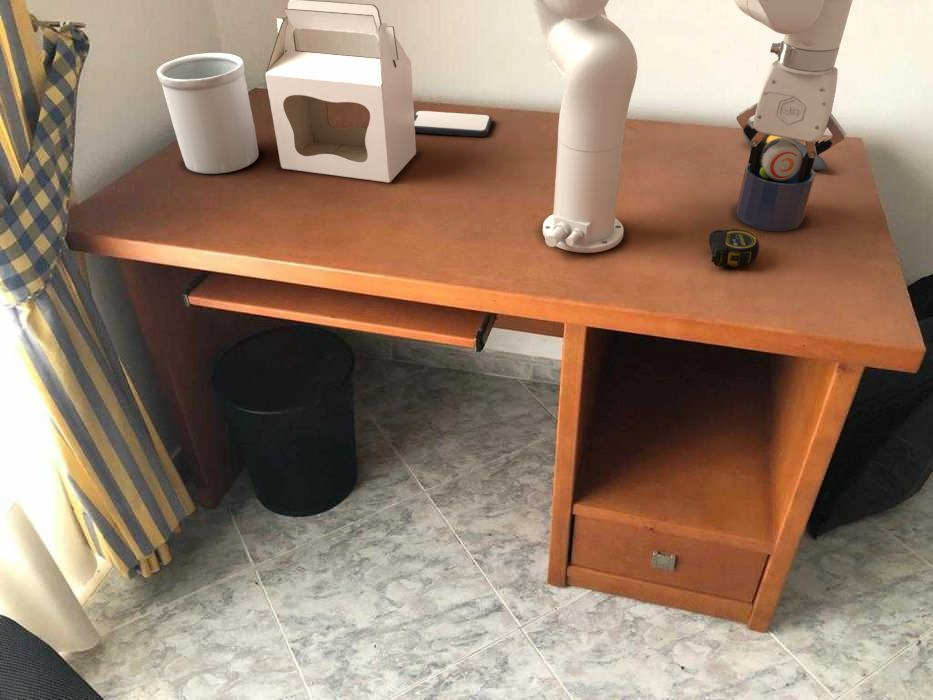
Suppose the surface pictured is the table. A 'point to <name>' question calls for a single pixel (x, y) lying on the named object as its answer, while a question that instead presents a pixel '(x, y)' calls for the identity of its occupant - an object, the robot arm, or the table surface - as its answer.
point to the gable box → (340, 95)
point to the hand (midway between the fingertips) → (778, 172)
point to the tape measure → (733, 247)
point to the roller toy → (780, 159)
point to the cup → (773, 201)
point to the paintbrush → (818, 161)
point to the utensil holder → (210, 111)
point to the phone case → (452, 123)
